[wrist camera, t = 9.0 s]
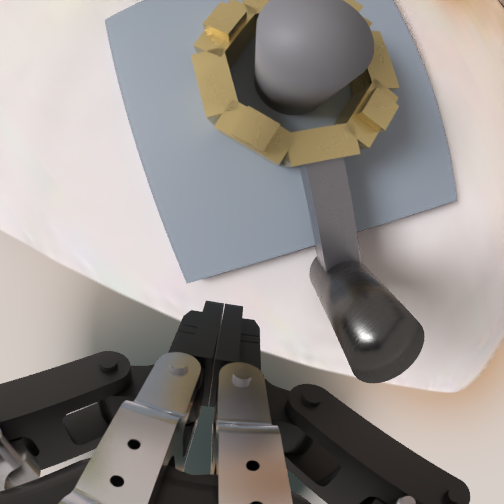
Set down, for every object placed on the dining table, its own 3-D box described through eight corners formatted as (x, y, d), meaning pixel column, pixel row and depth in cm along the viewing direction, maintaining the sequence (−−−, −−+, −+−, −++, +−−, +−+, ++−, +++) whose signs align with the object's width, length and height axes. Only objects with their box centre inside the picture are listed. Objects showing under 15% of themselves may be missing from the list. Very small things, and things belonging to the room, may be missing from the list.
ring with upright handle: (190, 31, 13) (148, -50, 5) (345, 9, 12) (396, -63, 4) (263, 311, 18) (270, 411, 10) (402, 274, 18) (476, 341, 9)
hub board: (363, -31, 12) (402, -84, 4) (450, 222, 18) (524, 255, 10) (111, 25, 13) (53, -21, 5) (201, 301, 20) (175, 380, 12)
